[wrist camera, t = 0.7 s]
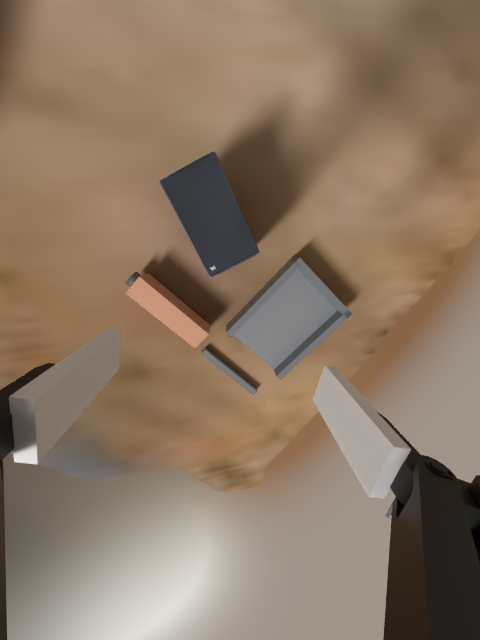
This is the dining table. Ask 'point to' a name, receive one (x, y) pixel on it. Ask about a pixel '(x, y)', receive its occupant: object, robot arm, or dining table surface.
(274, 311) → the tray
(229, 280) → the dining table surface
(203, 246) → the small box
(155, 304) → the bar
